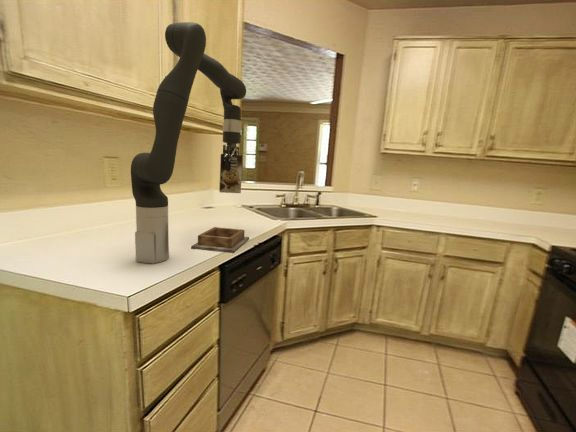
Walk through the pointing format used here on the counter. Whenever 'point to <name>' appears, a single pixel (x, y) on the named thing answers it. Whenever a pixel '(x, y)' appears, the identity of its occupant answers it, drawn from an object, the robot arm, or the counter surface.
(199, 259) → the counter surface
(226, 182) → the coffee box
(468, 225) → the counter surface
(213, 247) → the socket
